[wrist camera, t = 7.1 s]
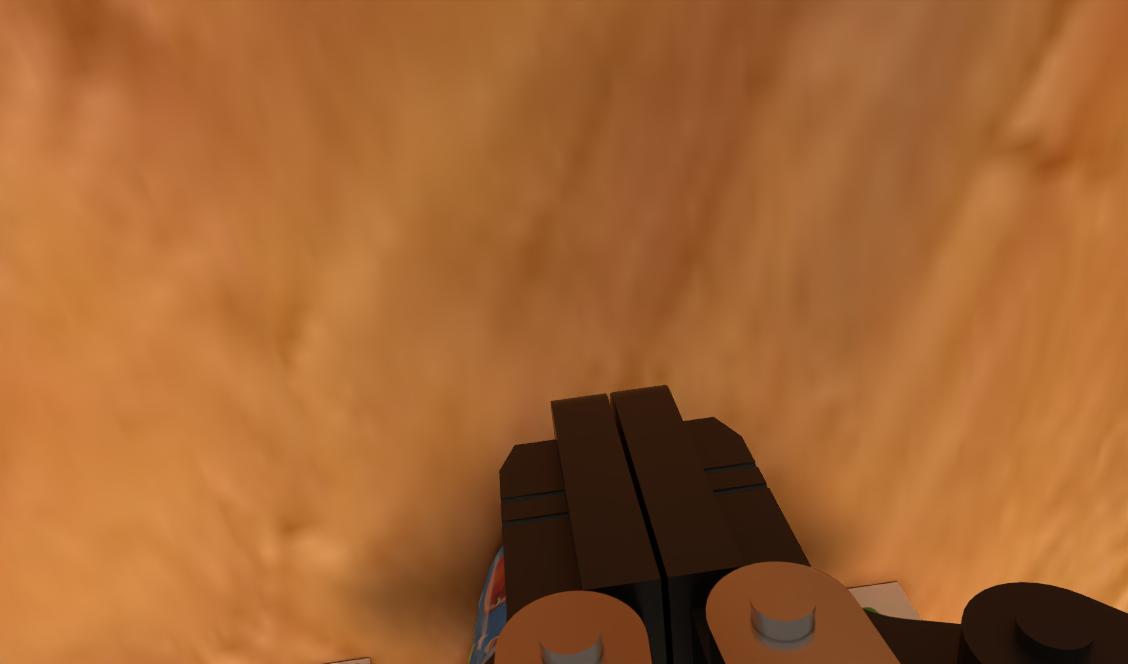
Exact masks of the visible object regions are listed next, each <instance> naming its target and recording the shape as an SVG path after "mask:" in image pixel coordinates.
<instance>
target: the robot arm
mask: <svg viewBox="0 0 1128 664" xmlns="http://www.w3.org/2000/svg"><path fill="white" fill-rule="evenodd" d="M551 410H552V418H553V426H554V434H555V440H549V441H542V442H535V443H528V444H520V445H515V446H514V447H513V449H512V451H511V452H510V454H509V456H508V457H507V459H506V461H505V462H504V464H503V466H502V468H501V469H500V471H499V474H500V493H501V513H502V526H503V527H502V533H503V552H504V572H505V592H506V612H507V618H506V625H505V626H504V628H503V629H502V631H501V633H500V635H499V638H498V640H497V644H496V650H495V651H494V653H493V654H492V656H491V657H490V658H489V659H488V660H487V661H486V662H485V663H484V664H1128V613H1125V612H1123V611H1120V610H1118V609H1116V608H1113V607H1111V606H1108V605H1106V604H1104V603H1101V602H1099V601H1096V600H1094V599H1091V598H1089V597H1087V596H1084V595H1082V594H1079V593H1076V592H1073V591H1071V590H1068V589H1064V588H1060V587H1056V586H1052V585H1046V584H1040V583H1027V582H1018V583H1007V584H1001V585H996V586H993V587H991V588H988V589H985V590H984V591H982V592H980V593H978V594H977V595H975V596H974V597H973V598H972V599H971V600H970V601H969V603H968V604H967V606H966V607H965V609H964V612H963V616H962V621H961V624H954V623H944V622H934V621H924V620H913V619H904V618H897V617H890V616H886V615H882V614H878V613H874V612H871V611H868V610H866V609H863V608H862V607H861V606H860V605H859V603H858V602H857V600H856V599H855V597H854V596H853V595H852V594H851V593H850V591H849V590H848V589H847V588H846V587H845V586H844V585H842V584H841V583H840V582H839V581H838V580H836V579H834V578H833V577H831V576H830V575H828V574H826V573H824V572H822V571H820V570H817V569H815V568H812V567H811V566H810V564H809V562H808V560H807V558H806V556H805V554H804V553H803V551H802V549H801V547H800V545H799V543H798V541H797V539H796V538H795V536H794V534H793V532H792V530H791V528H790V526H789V524H788V523H787V521H786V519H785V517H784V515H783V513H782V511H781V509H780V508H779V506H778V504H777V502H776V500H775V498H774V496H773V494H772V493H771V491H770V489H769V488H767V485H766V481H765V479H764V478H763V476H762V474H761V472H760V470H759V468H758V467H756V465H755V461H754V459H753V457H752V455H751V453H750V451H749V449H748V448H747V446H746V444H745V442H744V440H743V438H742V436H740V435H739V434H737V433H736V432H735V431H733V430H732V429H730V428H729V427H727V426H726V425H725V424H723V423H722V422H720V421H719V420H717V419H716V418H714V417H710V418H703V419H696V420H689V421H683V420H682V418H681V415H680V413H679V411H678V408H677V406H676V404H675V401H674V399H673V397H672V394H671V392H670V390H669V388H668V386H667V385H662V386H654V387H647V388H640V389H633V390H626V391H619V392H611V393H610V403H609V399H608V396H607V394H599V395H591V396H584V397H577V398H570V399H563V400H555V401H551Z"/></svg>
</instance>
